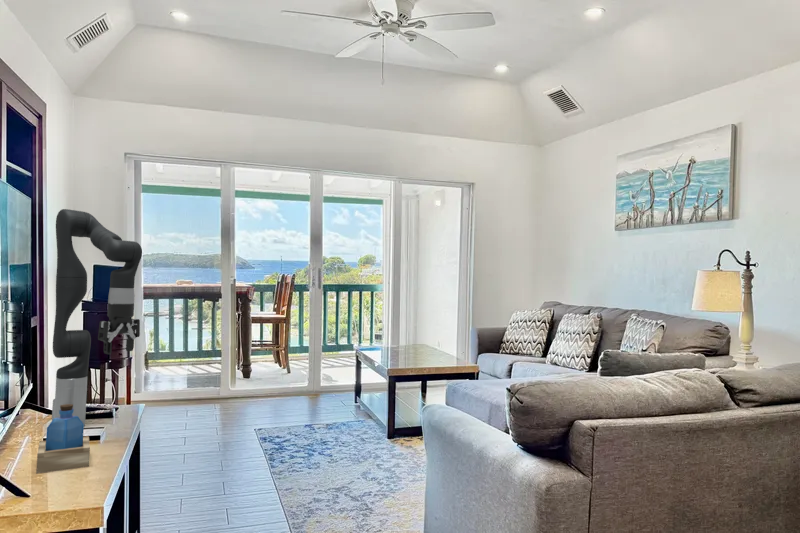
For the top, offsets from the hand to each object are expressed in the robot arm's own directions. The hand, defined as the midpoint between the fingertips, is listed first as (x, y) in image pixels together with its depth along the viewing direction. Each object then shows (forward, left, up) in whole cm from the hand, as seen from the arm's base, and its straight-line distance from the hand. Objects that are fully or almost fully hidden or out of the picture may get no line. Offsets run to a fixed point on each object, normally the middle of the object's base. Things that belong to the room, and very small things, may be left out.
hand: (118, 352), depth 169 cm
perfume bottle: (+4, -21, -24) cm, 32 cm away
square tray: (+4, -21, -28) cm, 35 cm away
